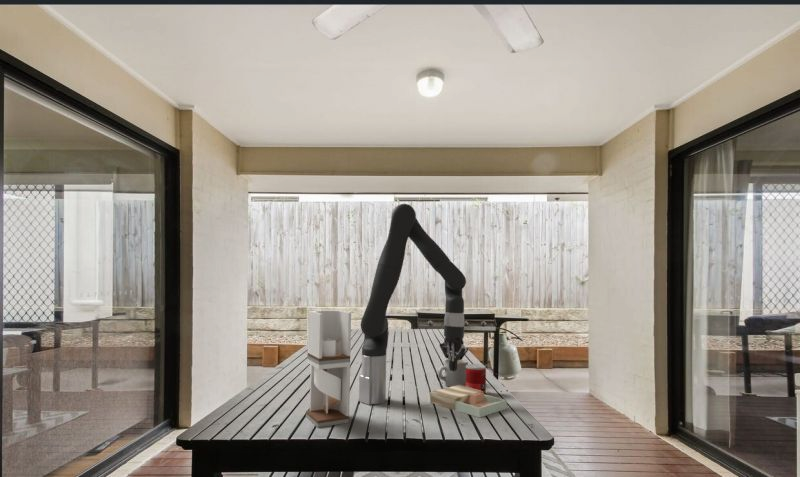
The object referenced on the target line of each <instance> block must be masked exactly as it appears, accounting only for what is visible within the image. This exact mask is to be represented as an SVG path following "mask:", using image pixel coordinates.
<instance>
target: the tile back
mask: <svg viewBox="0 0 800 477" xmlns="http://www.w3.org/2000/svg"><path fill="white" fill-rule="evenodd" d="M481 402H484V393H480V392H477V393H473V394H470V405H472V406H476V404H478V403H481Z"/></svg>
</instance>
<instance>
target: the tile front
mask: <svg viewBox="0 0 800 477" xmlns="http://www.w3.org/2000/svg"><path fill="white" fill-rule="evenodd" d="M489 404H492V403H489V402H485V401H484V402H481V403H478V404H476V407H482V406H485V405H489Z"/></svg>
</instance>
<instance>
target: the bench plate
mask: <svg viewBox="0 0 800 477" xmlns="http://www.w3.org/2000/svg"><path fill="white" fill-rule="evenodd" d="M477 392H480V393H483V391H481V390H477V389H473V388H469V387H465V386H461V385H456V386H452V387H449V386H447V387H444V388H440V389H436V390H432V391H430V392H429V393H430V394H429V395H430V398H429V399H430V400H429V401H430V402H429V403H430V404H433V405H437V406H440V407H443V408H446V409H449V410H453V411H456V410H455V401H458V402H462V403H465V404H469V405H470V394H473V393H477Z"/></svg>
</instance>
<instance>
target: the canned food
mask: <svg viewBox="0 0 800 477" xmlns="http://www.w3.org/2000/svg"><path fill="white" fill-rule="evenodd" d="M486 367H487V366H485V365H484V364H476V363H471V364H469V363H468V365H466V387H469V388H473V389H477V390H481V391H483V393H484V394H485V395H486V391H487V386H486V385H487V368H486Z"/></svg>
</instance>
